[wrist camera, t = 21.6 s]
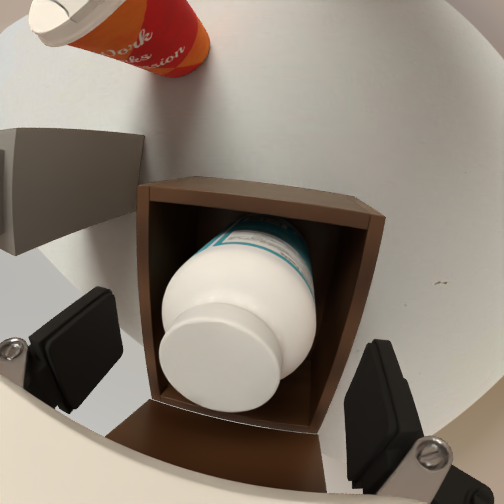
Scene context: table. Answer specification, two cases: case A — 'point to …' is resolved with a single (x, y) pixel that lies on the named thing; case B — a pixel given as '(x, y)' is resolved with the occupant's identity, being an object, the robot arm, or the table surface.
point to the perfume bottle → (63, 182)
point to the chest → (323, 270)
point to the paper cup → (126, 31)
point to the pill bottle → (239, 315)
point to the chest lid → (224, 448)
